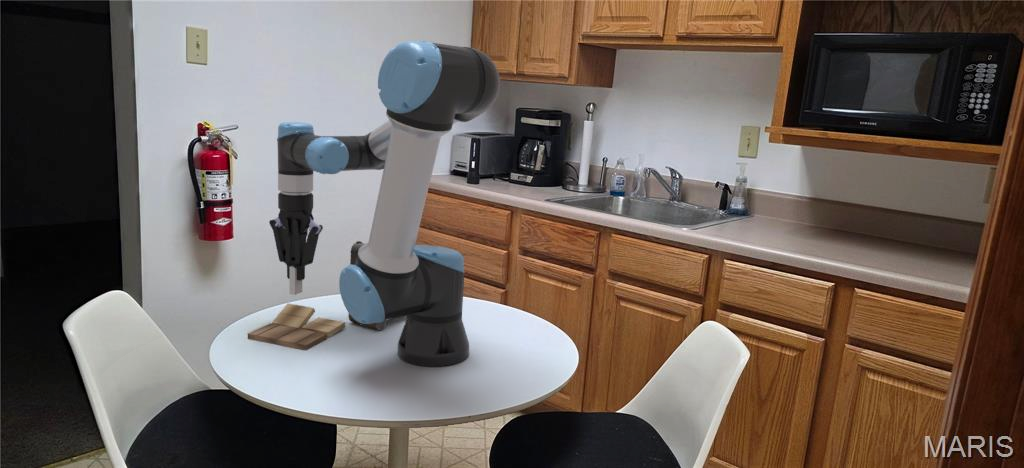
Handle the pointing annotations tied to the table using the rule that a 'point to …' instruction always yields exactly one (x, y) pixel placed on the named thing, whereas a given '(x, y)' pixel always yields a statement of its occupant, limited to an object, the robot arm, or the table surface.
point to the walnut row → (287, 336)
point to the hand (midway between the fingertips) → (296, 292)
